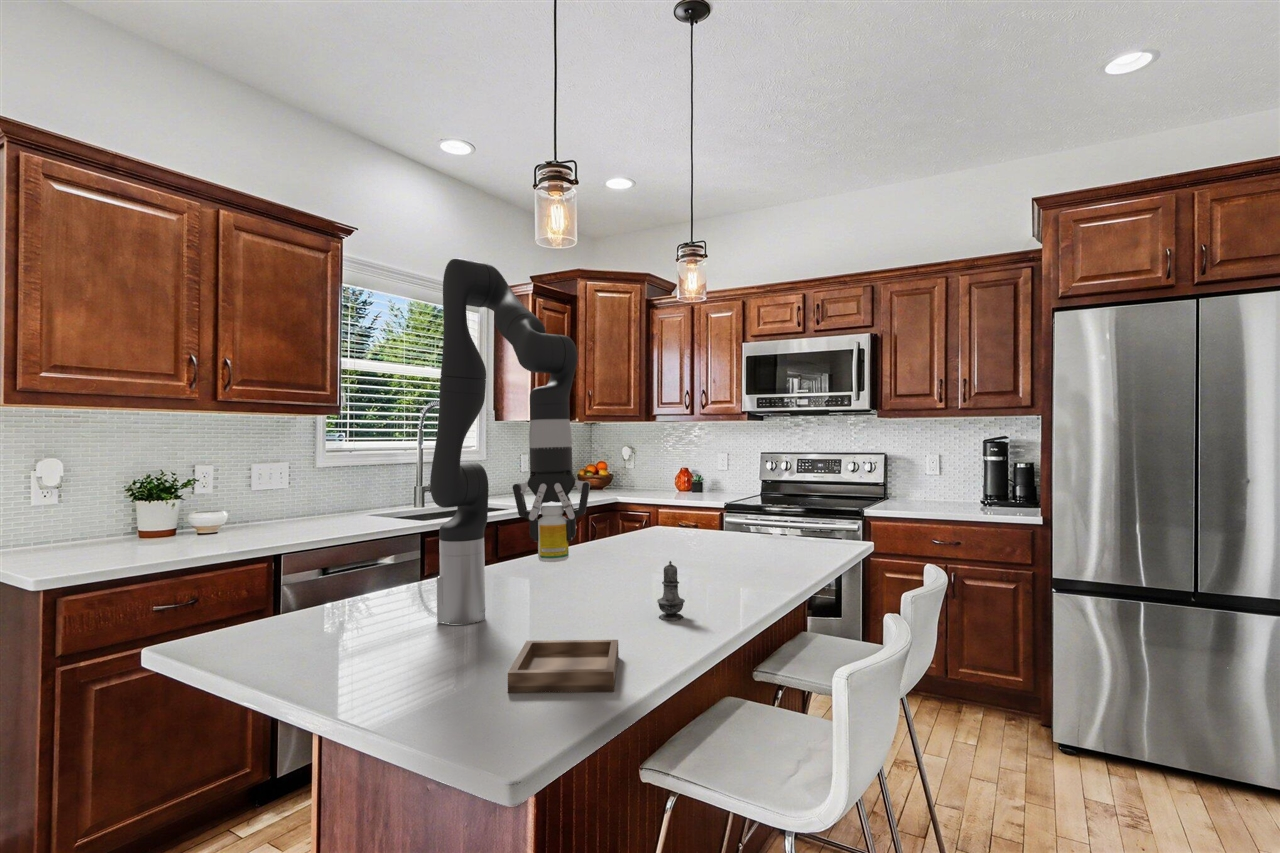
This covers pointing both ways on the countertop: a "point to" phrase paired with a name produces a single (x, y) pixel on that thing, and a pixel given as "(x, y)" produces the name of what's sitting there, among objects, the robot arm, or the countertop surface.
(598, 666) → the tray
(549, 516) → the supplement bottle
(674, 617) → the salt shaker
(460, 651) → the countertop surface
